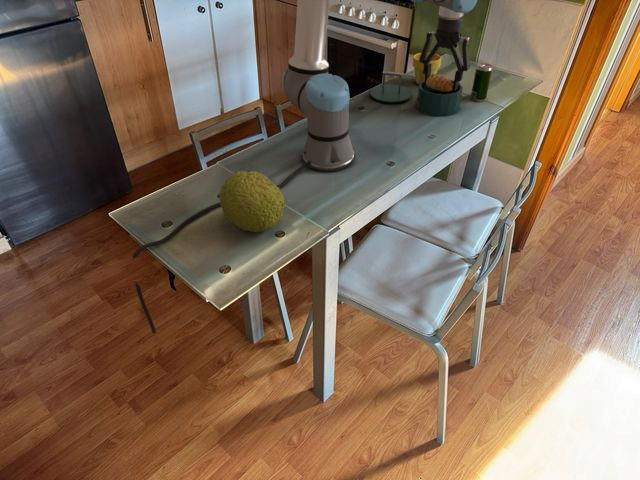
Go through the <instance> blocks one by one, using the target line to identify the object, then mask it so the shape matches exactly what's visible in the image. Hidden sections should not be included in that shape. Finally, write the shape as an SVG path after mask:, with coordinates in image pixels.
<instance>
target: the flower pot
mask: <svg viewBox="0 0 640 480" xmlns="http://www.w3.org/2000/svg"><path fill="white" fill-rule="evenodd" d="M421 53H422V52H419V53H415V54H414V55H413V57H412V67H413V68H414V79H415V83H416V84H417V85H418V86H419V85H420V83H421V82H422V81H424V80H425V74H423V69H424V64H423V63H422V62H419V58H420V56H421ZM430 53H431V52H428V53H427V56H426V58H427V57H428V56H429V54H430ZM429 64H432V66H431V74H433V73H434V74H436V75H437V73H438V69H440V67H441V64H442V56H441V55H439V54H437V53H436V54H435V55H434V57H433V58H432V60H431V61H430V63H429ZM431 74H430V75H431Z"/></svg>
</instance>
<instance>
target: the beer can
mask: <svg viewBox="0 0 640 480" xmlns="http://www.w3.org/2000/svg"><path fill="white" fill-rule="evenodd" d="M492 72H493V65H492V64H491V63H488V62H479V63H477V65H476V67H475V71H474V78H473V82H472V88H471V93H470V99H471V100H472V101H474V102H478V103H479V102H480V103H481V102H484V101H486V99H487V96H488V92H489V86H490V81H491V78H492Z"/></svg>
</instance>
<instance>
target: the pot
mask: <svg viewBox="0 0 640 480" xmlns="http://www.w3.org/2000/svg"><path fill="white" fill-rule="evenodd" d="M449 80H450V81H452V83H453V84H454V79H449ZM424 81H425V80H424ZM424 81H422V82H421V83H420V85H419V84H418V91H417V100H416V108H417V110H418V111H419V112H421V113H423V114H425V115H428V116H434V117H446V116H451V115H454V114H456V113H458V111H459V110H460V106H461V101H462V94H463V90H464V89H463V88H464V87H463V85H462V84H461V83H460V82H459V84H458V89H457V90H456V91H453V89H452V90H451V91H443V92H442V91H438V90H434V89H432V88H431V87H428V86H427V85H424Z"/></svg>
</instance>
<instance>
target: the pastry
mask: <svg viewBox="0 0 640 480" xmlns="http://www.w3.org/2000/svg"><path fill="white" fill-rule="evenodd" d="M450 80H451V79H449V78H447V77H446V76H445V75H442V74H437V73H436V74H434V73H433V74H431V75H430V76H429V77H428V79H427V81H426V85H427V86H428V87H431V88H432V89H434V90H438V91H442V92H443V91H451V90H452V89H453V83H452V81H450Z"/></svg>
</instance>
